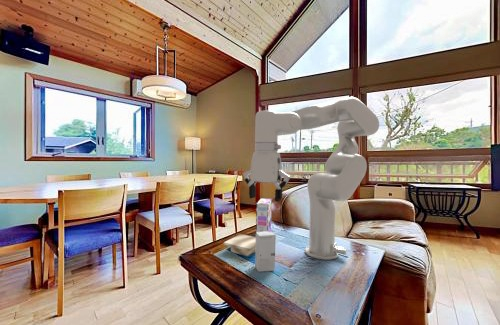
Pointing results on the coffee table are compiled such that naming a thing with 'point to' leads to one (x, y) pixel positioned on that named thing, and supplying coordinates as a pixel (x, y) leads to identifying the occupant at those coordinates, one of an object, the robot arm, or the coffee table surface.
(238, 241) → the cream square tile
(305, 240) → the coffee table surface
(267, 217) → the candy box
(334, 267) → the coffee table surface
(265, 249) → the skincare box
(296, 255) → the coffee table surface
